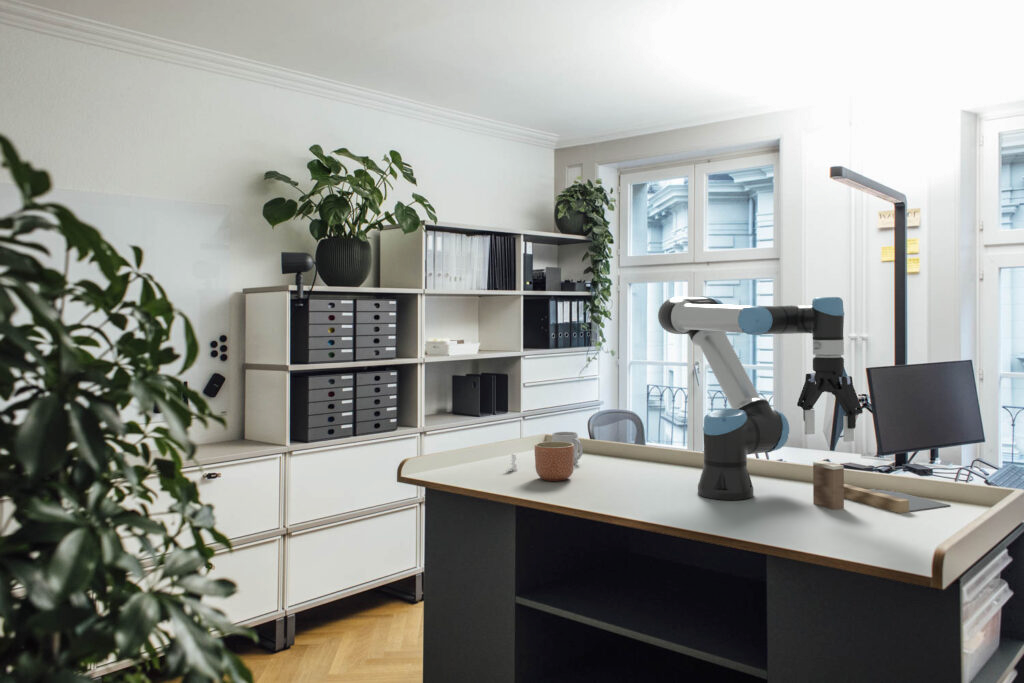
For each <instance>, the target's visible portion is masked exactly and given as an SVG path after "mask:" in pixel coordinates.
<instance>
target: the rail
mask: <svg viewBox="0 0 1024 683" xmlns="http://www.w3.org/2000/svg"><path fill="white" fill-rule="evenodd" d="M844 499H847V500H850V501H855V502H859V503H862V504H865V505H869V506H872V507H877V508H879V509H883V510H887V511H891V512H894V513H898V514H904V513H905V514H906V513H909V500H906V499H902V498H898V497H894V496H890V495H887V494H883V493H879V492H875V491H871V490H867V489H866V488H863V487H859V486H855V485H851V484H847V483H844Z"/></svg>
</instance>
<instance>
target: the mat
mask: <svg viewBox="0 0 1024 683" xmlns="http://www.w3.org/2000/svg"><path fill="white" fill-rule="evenodd" d="M867 490H871V491H875V492H879V493H883V494H887V495H890V496H894V497H898V498H902V499H906V500H909V512H918V511H926V510H931V509H938V508H945V507H951V504H948V503H944V502H941V501H935V500H932V499H928V498H924V497H920V496H916V495H911V494H908V493H904V492H901V491H897V492H894V491H895V490H892V491H886V490H876V489H875V488H869V489H867ZM909 512H908V513H909Z"/></svg>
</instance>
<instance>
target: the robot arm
mask: <svg viewBox="0 0 1024 683" xmlns="http://www.w3.org/2000/svg"><path fill="white" fill-rule="evenodd" d="M843 300H844V299H842V298H841V297H839V296H828V297H827V296H823V297H814V298H812V303H811V305H738V304H737V305H736V304H735V305H734V304H724V303H723V302H722V301H721V300H719V299H718V298H716V297H710V296H698V297H697V296H674V297H671V298H669V299H667V300H665V301H664V302H663V303H662V304H661V306H660V307H659V310H658V314H657V318H658V323H659V325H660V326H661V327H662V329H663V330H664V331H666V332H667V333H670V334H675V335H688V337H689V338H690V340H691V342H692V344H693V345H695V346H697V347H698V346H699V347H700V349H701V351H702V353H703V355H704V357H705V358H706V361H707V362H708V365H709V366H710V368H711V370H712V373H713V375H714V376H715V378H716V380H717V382H718V384H719V386H720V388H721V390H722V392H723V394H724V396H725V398H726V400H727V401H728V404H729V405H730V407H731V408H728V409H717V410H714V411H711V412H709V413H707V414H706V415H705V416H704V418H703V426H702V432H703V468H702V471H701V475H700V478H699V481H698V484H697V494H698V495H699V496H701V497H704V498H707V499H714V500H721V501H722V500H723V501H739V500H746V499H751V498H752V497H754V495H755V494H754V485H753V482H752V479H751V476H750V473H749V471H748V465H747V464H748V463H747V461H748V460H747V459H748V457H747V455H755V454H762V453H767V454H768V453H771V452H775V451H777V450H780V449H782V448H783V447H784V446H785V445H786V444H787V442H788V440H789V434H790V424H789V421H788V418H787V416H786V415H785V414H784V413H783V412H781V411H778V410H777V409H772V406H771V405H770V403H769V400H767V399H766V398H762V397H760V395H759V393H758V391H757V390H756V388H755V386H754V384H753V382H752V380H751V379H750V377H749V375H748V373H747V371H746V370H745V368H744V366H743V363H742V361H741V360H740V358H739V356H738V354H737V352H736V350H735V349H734V348H733V345H732V343H731V341H730V340H729V338H728V336H727V334H726V333H727V332H728V333H737V334H738V333H741V334H746V335H752V336H762V335H786V334H788V335H790V334H791V335H792V334H811V335H812V355H814V357H813V358H812V370H813V371H814V372H813V373H806V374H805V380H804V385H803V387H802V390H801V392H800V395H799V398H798V400H797V405H796V406H797V407H799V408H801V409H802V410H803V411H802V412H803V413H802V414H803V419H802V420H803V422H804V435H808V436H809V435H815V432H816V429H815V428H816V426H815V425H816V424H815V422H816V420H815V416H816V415H815V412H816V411H815V408H814V406H815V405H816V403H817V401H818V400H819V399H820V397H821V396H822V394H823V393H825V392H826V393H829V394H830V393H831V395H834V397H835V399H836V400H837V402H838V403H839V405H840V406H841V409H842V410H843V411H844V413H845V414H844V415H842V416H843V419H842V422H843V424H842V426H843V427H842V428H843V431H842V432H843V433H842V434H843V435H842V436H843V438H842V440H843V442H845V443H847V442H855V429H856V427H857V426H856V425H857V424H856V422H857V421H856V420H857V418H856V417H857V416H858V415H861V414H863V412H864V410H863V408H862V405H861V403H860V401H859V398H858V396H857V392H856V390H855V388H854V383H853V377H852V376H851V375H849V376H848V375H844V376H842V373H843V372H844V370H845V359H844V357H842V356H844V355H845V346H844V345H845V343H844V340H845V339H844V323H845V311H844V301H843Z"/></svg>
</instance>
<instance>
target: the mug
mask: <svg viewBox="0 0 1024 683" xmlns="http://www.w3.org/2000/svg"><path fill="white" fill-rule="evenodd" d="M578 435H579V434H578V432H575V431H574V432H573V431H556V432H552V435H551V436H552V437H551V439H552V440H551V441H561V442H570V443H573V444H574V465H575V464H577V463H579V460H580V459H581V458H582V456H583V452H584V451H583V450H584V448H583V443H582V442H581V440H580V439H579V436H578Z"/></svg>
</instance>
